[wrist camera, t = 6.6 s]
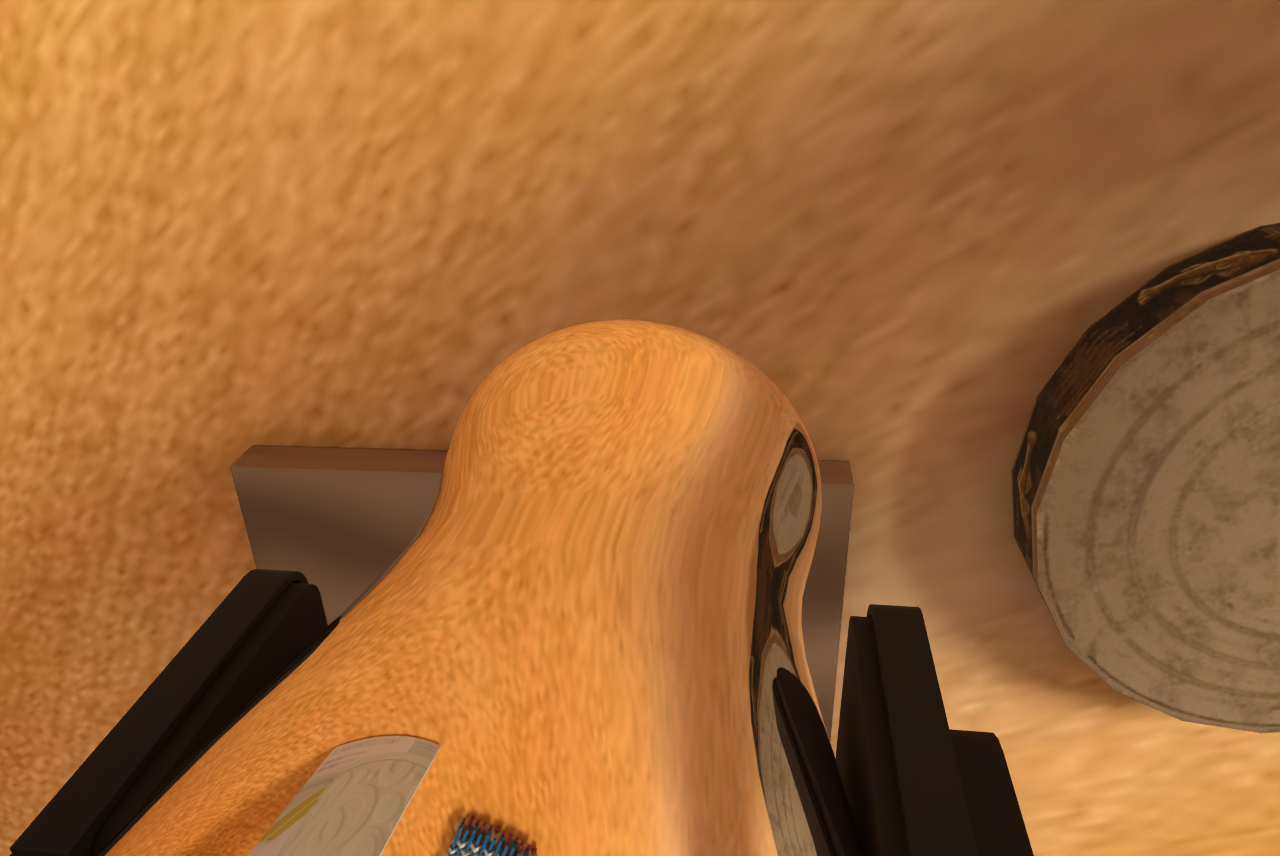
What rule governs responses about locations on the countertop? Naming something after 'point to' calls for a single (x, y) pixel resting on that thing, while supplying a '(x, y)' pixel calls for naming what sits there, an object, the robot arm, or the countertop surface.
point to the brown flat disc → (1168, 490)
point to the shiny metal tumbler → (558, 639)
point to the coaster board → (400, 501)
